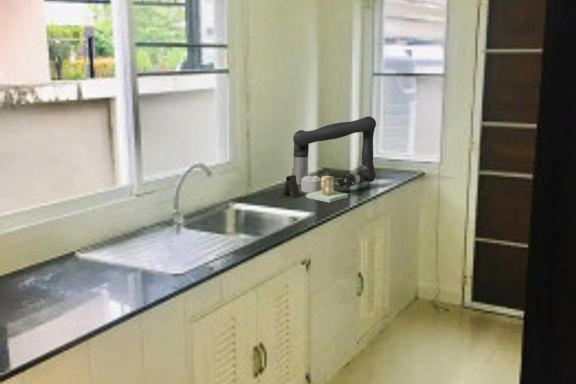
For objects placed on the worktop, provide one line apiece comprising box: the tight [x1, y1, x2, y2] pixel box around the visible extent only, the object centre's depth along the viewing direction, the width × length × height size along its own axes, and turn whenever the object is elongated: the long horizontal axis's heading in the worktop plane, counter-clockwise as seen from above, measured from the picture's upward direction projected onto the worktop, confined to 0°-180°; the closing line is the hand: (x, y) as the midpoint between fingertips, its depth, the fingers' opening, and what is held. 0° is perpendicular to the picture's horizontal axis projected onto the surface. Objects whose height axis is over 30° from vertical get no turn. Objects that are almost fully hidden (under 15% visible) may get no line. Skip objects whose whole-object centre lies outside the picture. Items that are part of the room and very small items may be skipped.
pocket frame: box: [305, 190, 349, 203], centre depth 343 cm, size 17×17×2 cm
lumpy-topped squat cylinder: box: [300, 175, 322, 194], centre depth 360 cm, size 10×13×9 cm
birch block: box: [321, 175, 335, 196], centre depth 342 cm, size 5×5×12 cm
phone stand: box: [281, 174, 301, 199], centre depth 345 cm, size 9×6×12 cm, turn 56°
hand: (334, 183), depth 346 cm, fingers open, 8 cm apart
